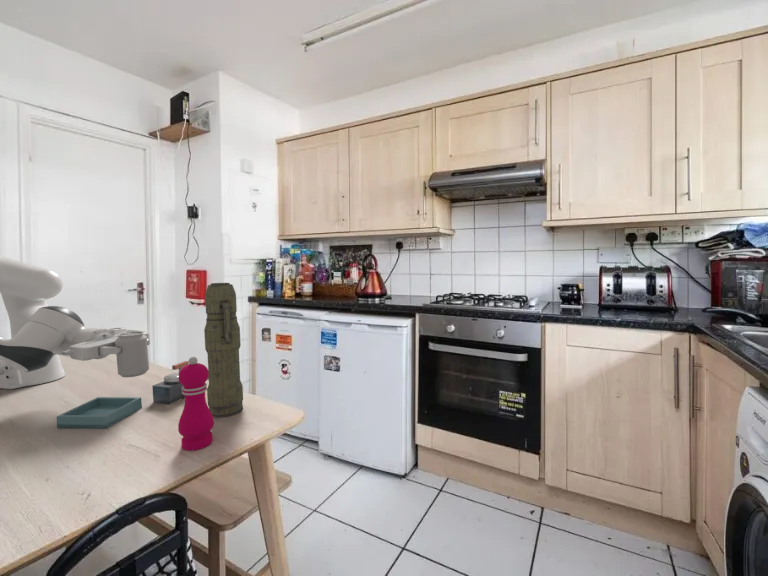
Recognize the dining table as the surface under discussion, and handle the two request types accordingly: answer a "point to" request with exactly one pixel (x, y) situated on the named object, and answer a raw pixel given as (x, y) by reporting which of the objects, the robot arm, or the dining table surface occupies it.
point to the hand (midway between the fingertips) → (134, 346)
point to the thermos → (223, 351)
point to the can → (132, 354)
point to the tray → (99, 412)
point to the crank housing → (169, 387)
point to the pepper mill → (195, 407)
